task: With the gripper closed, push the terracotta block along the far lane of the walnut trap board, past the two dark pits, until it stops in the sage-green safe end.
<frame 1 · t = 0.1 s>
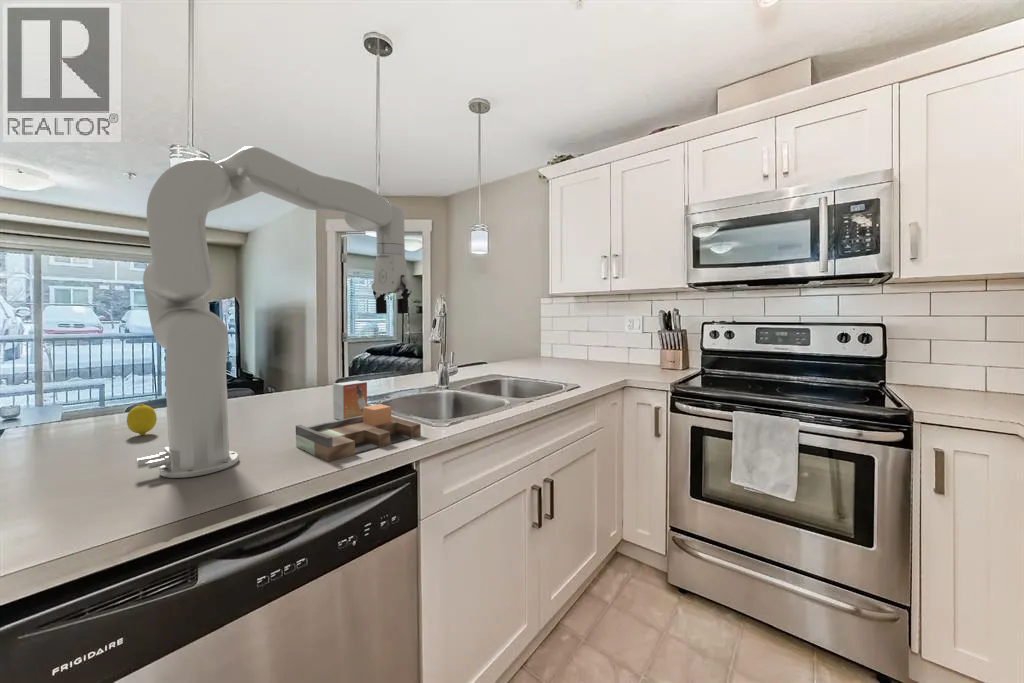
hand: (391, 313, 114), 31 cm above the countertop, tool pointing down, fingers open, 9 cm apart
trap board: (361, 441, 98), on the countertop
small box: (350, 418, 121), on the countertop
lemon: (142, 435, 102), on the countertop
block: (377, 422, 104), point 3 cm above the countertop, touching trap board
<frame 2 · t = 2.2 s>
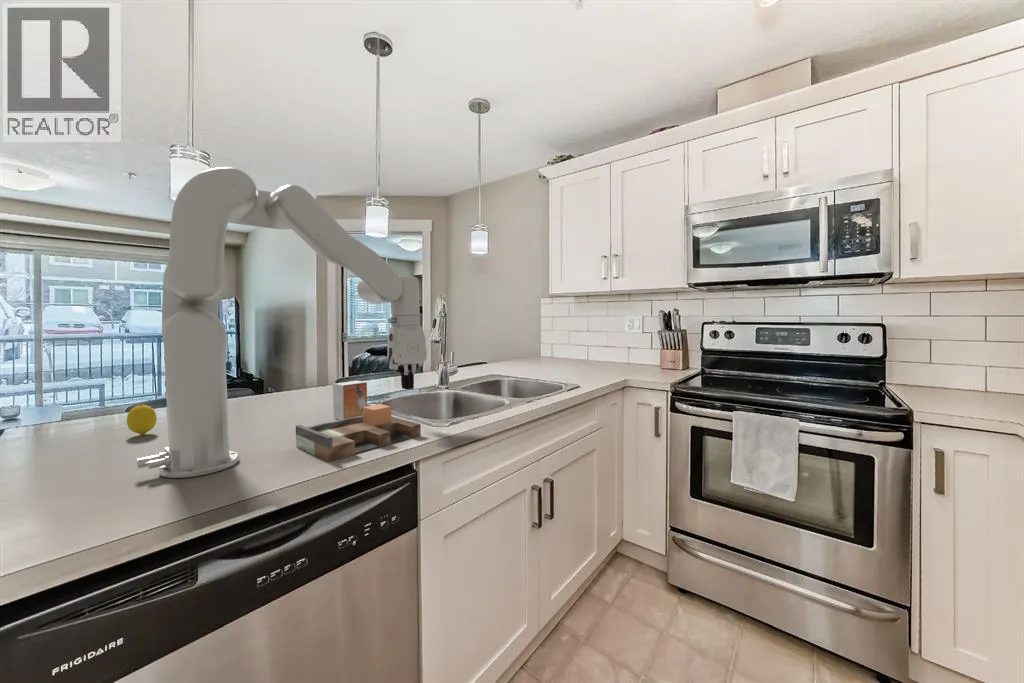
hand: (407, 388, 111), 10 cm above the countertop, tool pointing down, fingers closed
nothing on the countertop moved.
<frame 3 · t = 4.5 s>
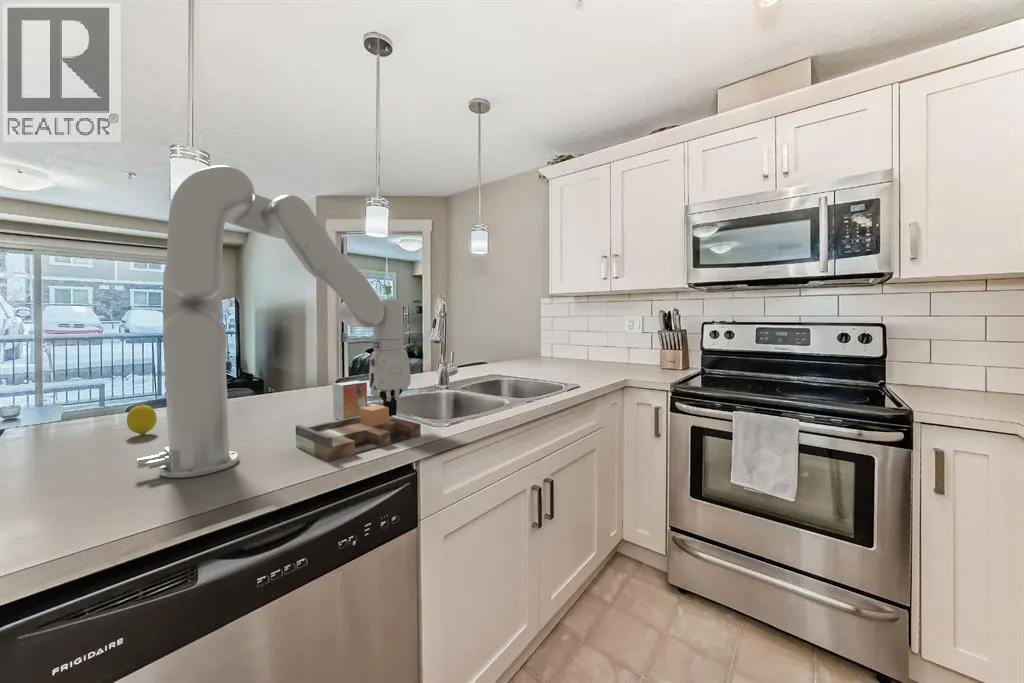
hand: (390, 414, 107), 4 cm above the countertop, tool pointing down, fingers closed
block: (374, 422, 104), point 3 cm above the countertop, touching gripper, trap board
everything else where it was.
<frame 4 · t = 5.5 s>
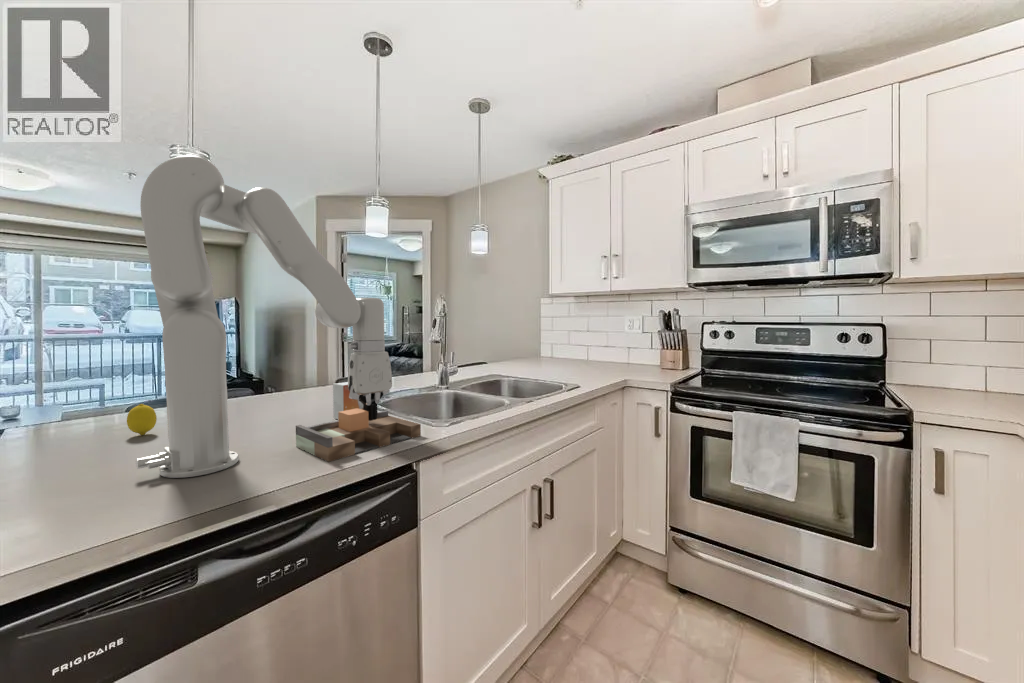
hand: (370, 419, 103), 4 cm above the countertop, tool pointing down, fingers closed
block: (353, 427, 99), point 3 cm above the countertop, touching gripper
everything else where it was.
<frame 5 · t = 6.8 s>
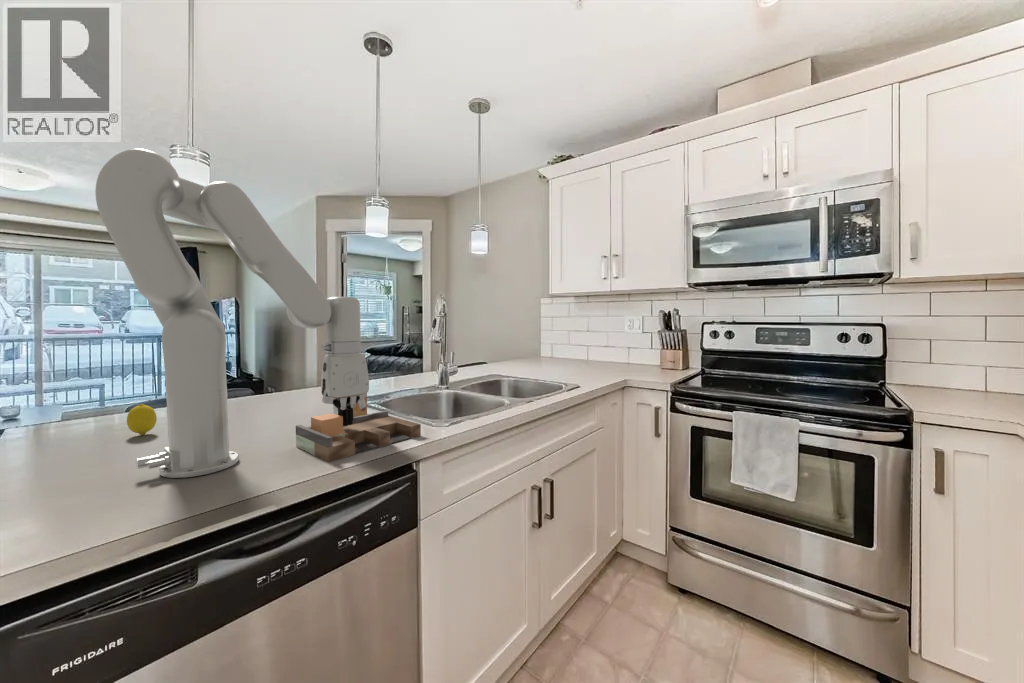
hand: (345, 424, 97), 4 cm above the countertop, tool pointing down, fingers closed
block: (327, 433, 94), point 3 cm above the countertop, touching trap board
everything else where it was.
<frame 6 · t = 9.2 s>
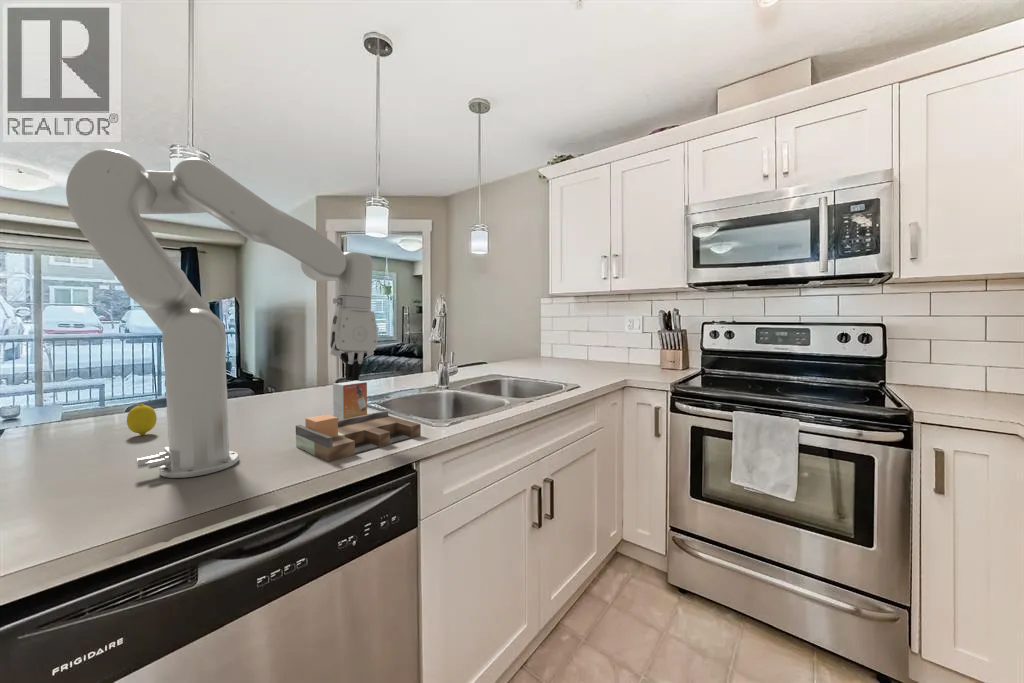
hand: (352, 379, 99), 15 cm above the countertop, tool pointing down, fingers closed
block: (322, 435, 93), point 3 cm above the countertop, touching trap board
everything else where it was.
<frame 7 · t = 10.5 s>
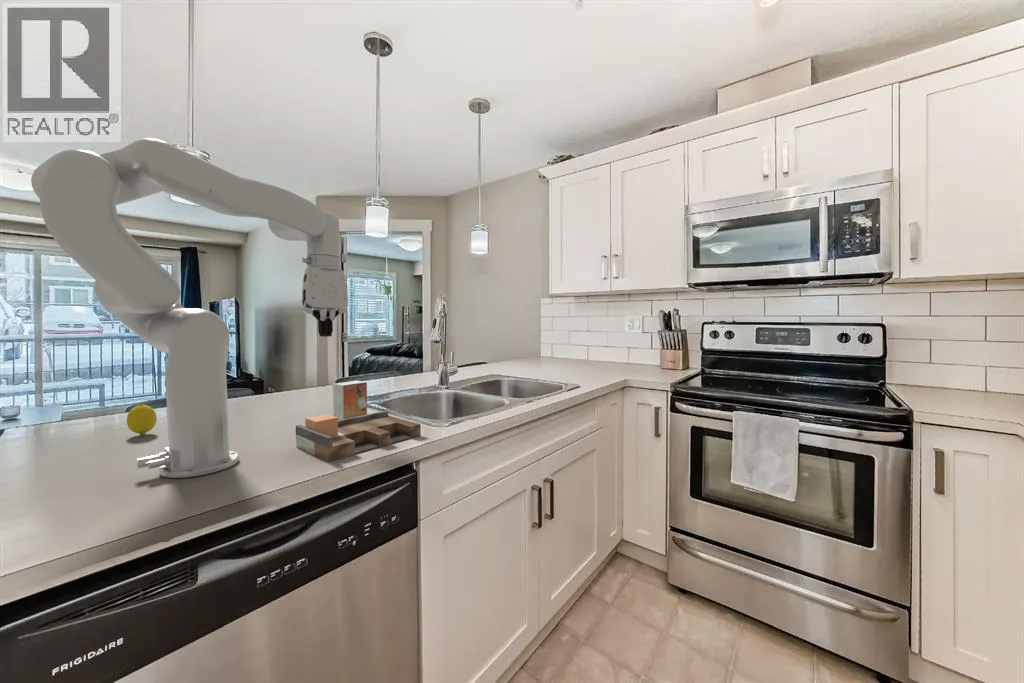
hand: (325, 336, 104), 25 cm above the countertop, tool pointing down, fingers closed
nothing on the countertop moved.
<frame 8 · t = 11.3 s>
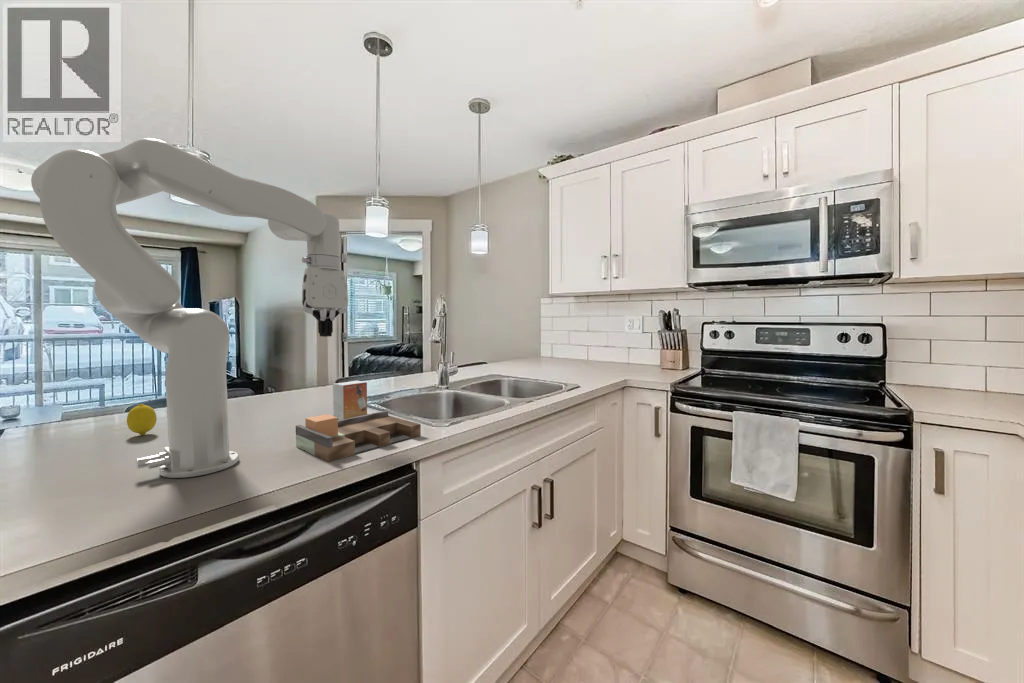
hand: (325, 336, 104), 25 cm above the countertop, tool pointing down, fingers closed
nothing on the countertop moved.
at the end: block 0.5 cm from the target spot on the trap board, point 3.0 cm above the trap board's base; block tilted 0°; block moved 14.5 cm from its start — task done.
